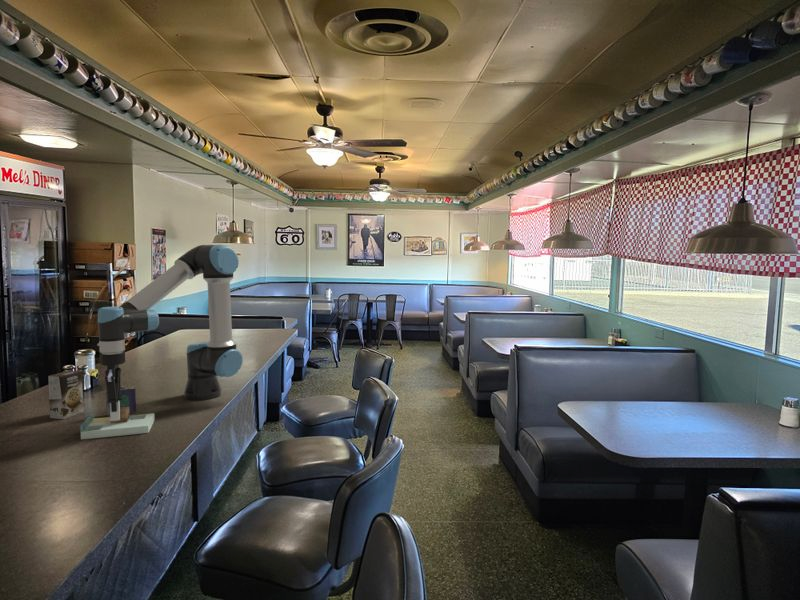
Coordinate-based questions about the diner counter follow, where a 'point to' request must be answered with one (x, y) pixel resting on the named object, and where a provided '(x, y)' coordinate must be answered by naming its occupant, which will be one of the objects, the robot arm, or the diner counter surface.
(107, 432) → the board
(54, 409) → the coffee box
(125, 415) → the walnut block
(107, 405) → the flask
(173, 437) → the diner counter surface
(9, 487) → the diner counter surface
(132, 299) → the robot arm
